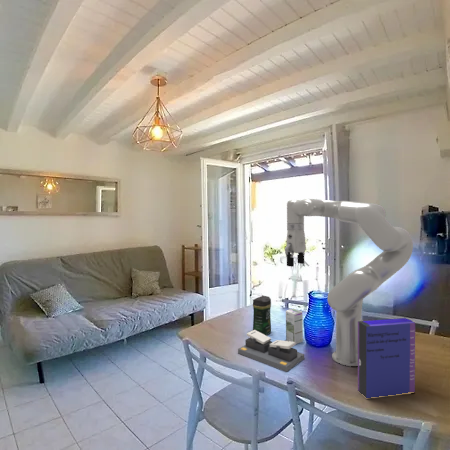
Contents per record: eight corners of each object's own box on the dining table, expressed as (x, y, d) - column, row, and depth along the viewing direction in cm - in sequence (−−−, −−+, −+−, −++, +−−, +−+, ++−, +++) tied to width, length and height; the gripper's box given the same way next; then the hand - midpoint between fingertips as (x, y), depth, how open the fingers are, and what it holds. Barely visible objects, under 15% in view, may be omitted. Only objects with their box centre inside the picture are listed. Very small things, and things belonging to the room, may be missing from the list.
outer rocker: (270, 340, 133) (271, 338, 133) (263, 344, 129) (263, 342, 129) (254, 331, 139) (254, 329, 139) (246, 335, 135) (246, 333, 135)
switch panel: (304, 358, 127) (304, 342, 127) (286, 371, 117) (286, 354, 117) (257, 343, 144) (257, 328, 143) (238, 353, 133) (237, 337, 133)
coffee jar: (264, 338, 149) (264, 300, 148) (250, 334, 154) (250, 297, 153) (273, 332, 157) (273, 295, 156) (260, 328, 161) (259, 293, 161)
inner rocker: (295, 344, 125) (295, 341, 125) (288, 349, 121) (288, 346, 121) (277, 342, 131) (276, 339, 131) (269, 346, 127) (269, 344, 127)
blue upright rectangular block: (404, 385, 107) (404, 317, 106) (414, 393, 102) (415, 322, 101) (357, 391, 104) (357, 320, 103) (366, 399, 99) (366, 325, 98)
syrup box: (303, 341, 144) (303, 311, 144) (294, 344, 141) (293, 313, 141) (294, 337, 149) (294, 308, 149) (285, 340, 146) (285, 310, 146)
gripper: (293, 228, 131) (293, 268, 132) (311, 226, 144) (311, 263, 145) (278, 228, 136) (278, 266, 137) (297, 226, 149) (297, 261, 150)
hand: (295, 264), depth 141 cm, fingers open, 9 cm apart
